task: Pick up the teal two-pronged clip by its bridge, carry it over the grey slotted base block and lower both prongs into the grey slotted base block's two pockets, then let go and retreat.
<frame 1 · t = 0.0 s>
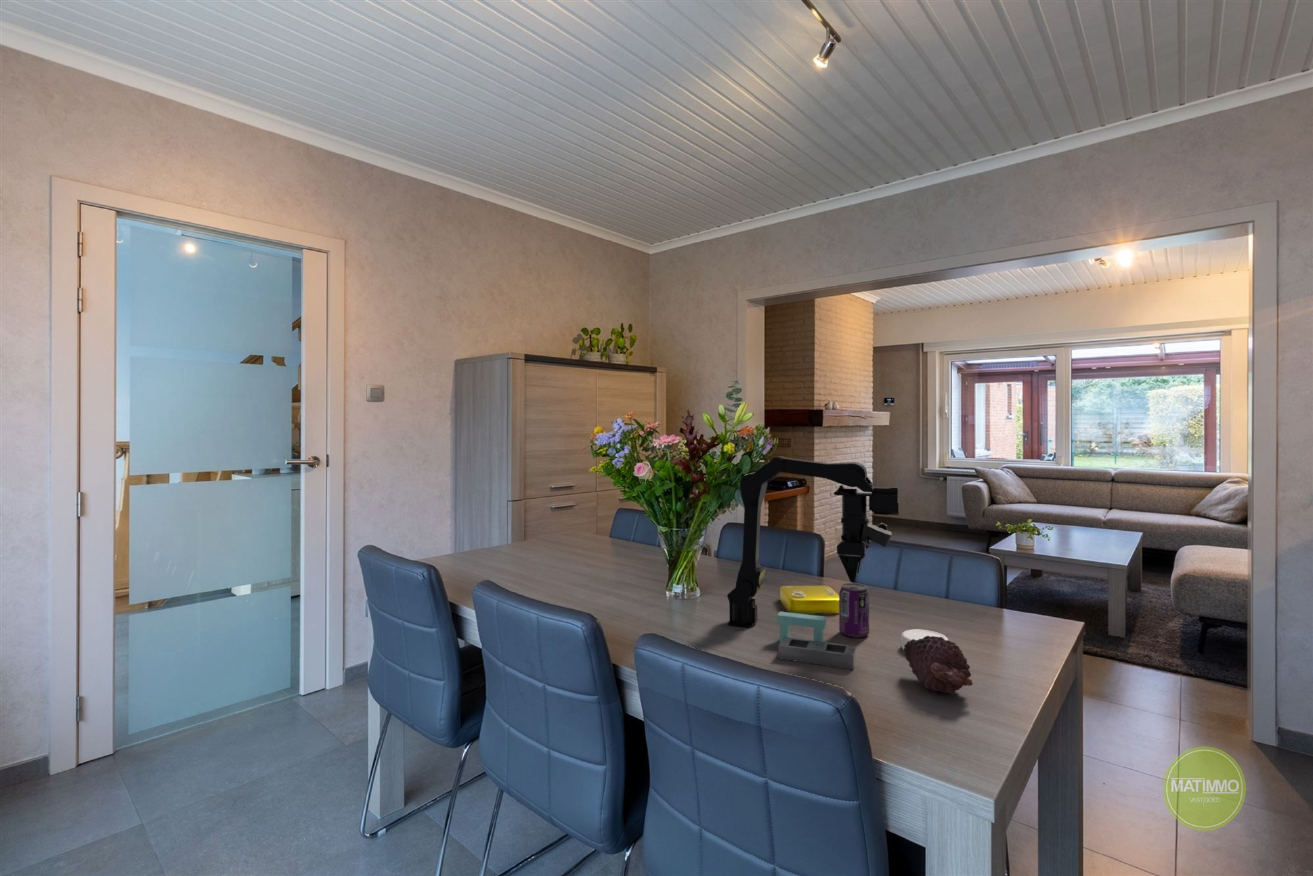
hand: (854, 577, 148), 15 cm above the table, tool pointing down, fingers open, 9 cm apart
grey slotted base block: (817, 659, 134), on the table
element tile: (810, 607, 174), on the table
clip: (801, 642, 144), on the table
pine cone: (936, 688, 119), on the table
beverage can: (854, 634, 150), on the table
coaster: (924, 651, 139), on the table
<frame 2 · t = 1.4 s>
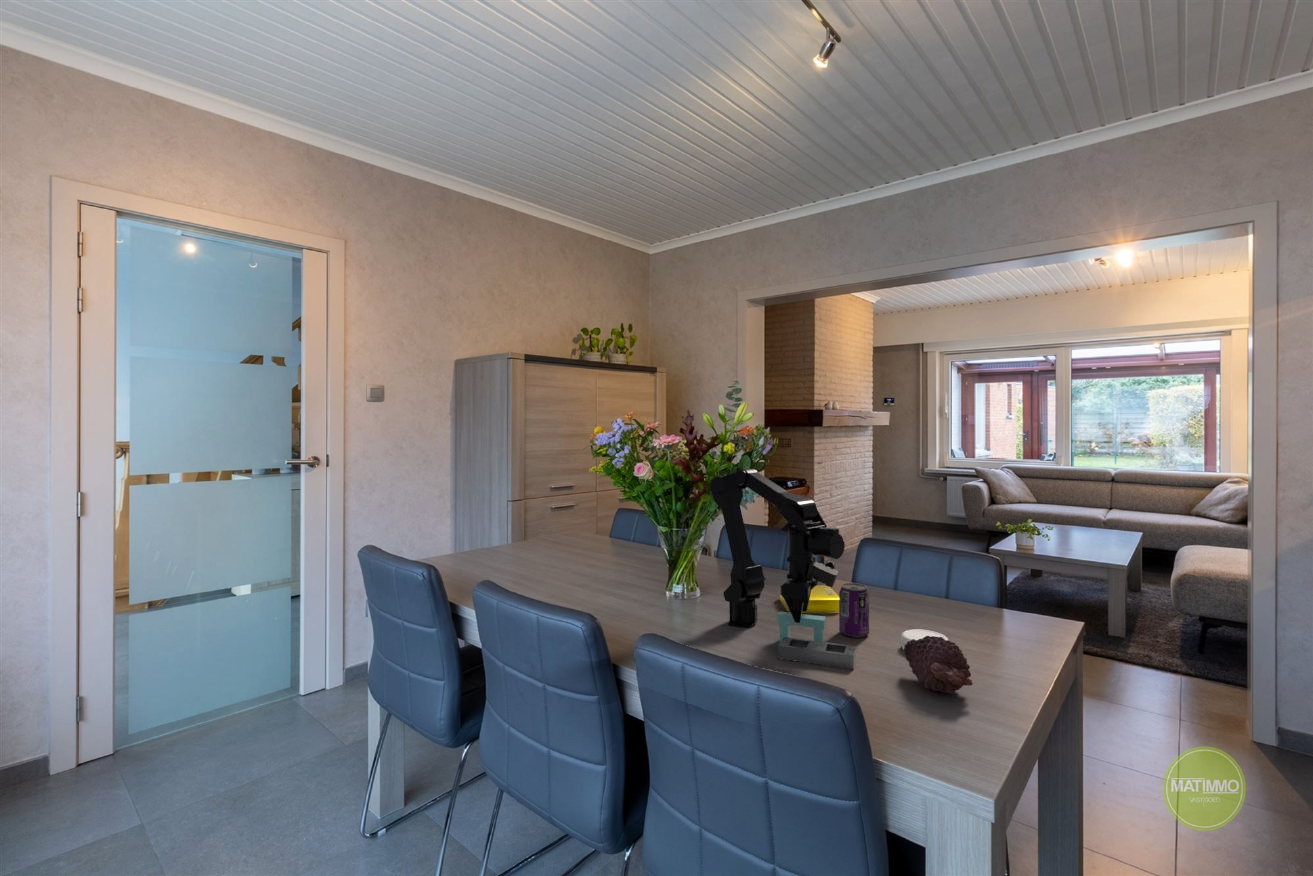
hand: (801, 616, 144), 6 cm above the table, tool pointing down, fingers open, 9 cm apart
nothing on the table moved.
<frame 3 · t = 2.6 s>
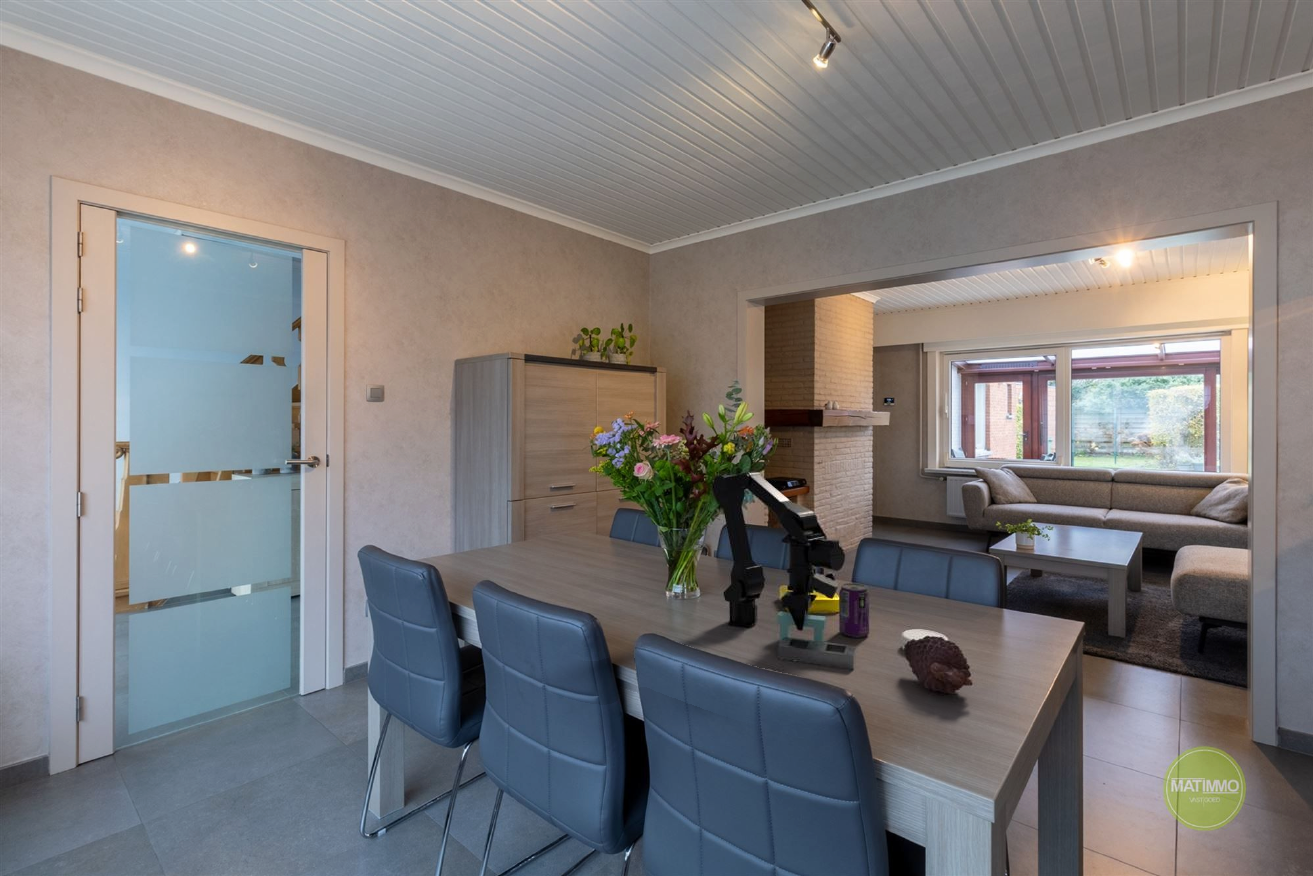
hand: (801, 628, 144), 4 cm above the table, tool pointing down, fingers closed on clip, 3 cm apart
clip: (801, 642, 144), on the table, touching gripper
everything else where it was.
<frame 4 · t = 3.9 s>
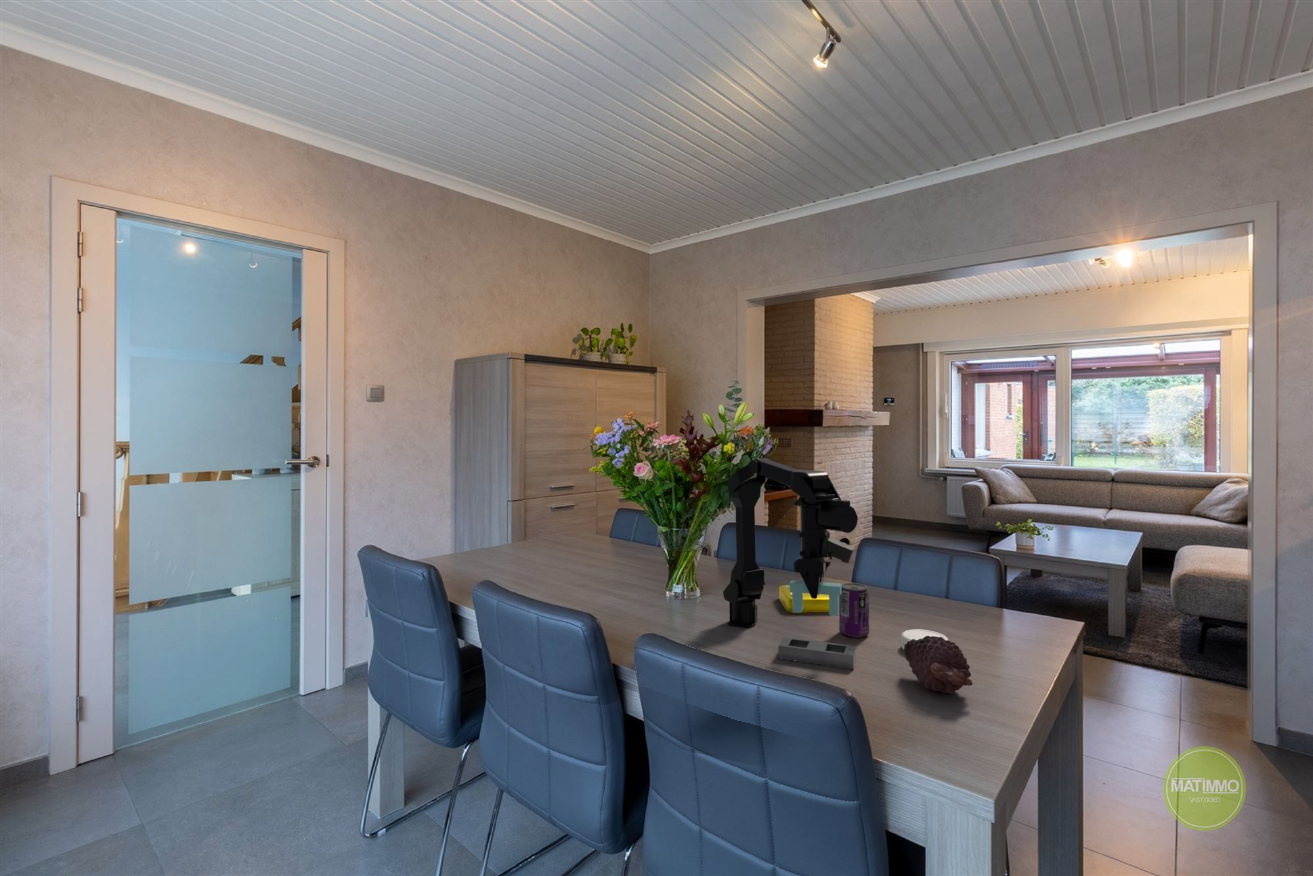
hand: (815, 596, 136), 14 cm above the table, tool pointing down, fingers closed on clip, 3 cm apart
clip: (815, 612, 136), point 10 cm above the table, touching gripper
everything else where it was.
when the fingers open (4 cm above the table, at t = 5.6 s): clip stays where it is, resting in grey slotted base block.
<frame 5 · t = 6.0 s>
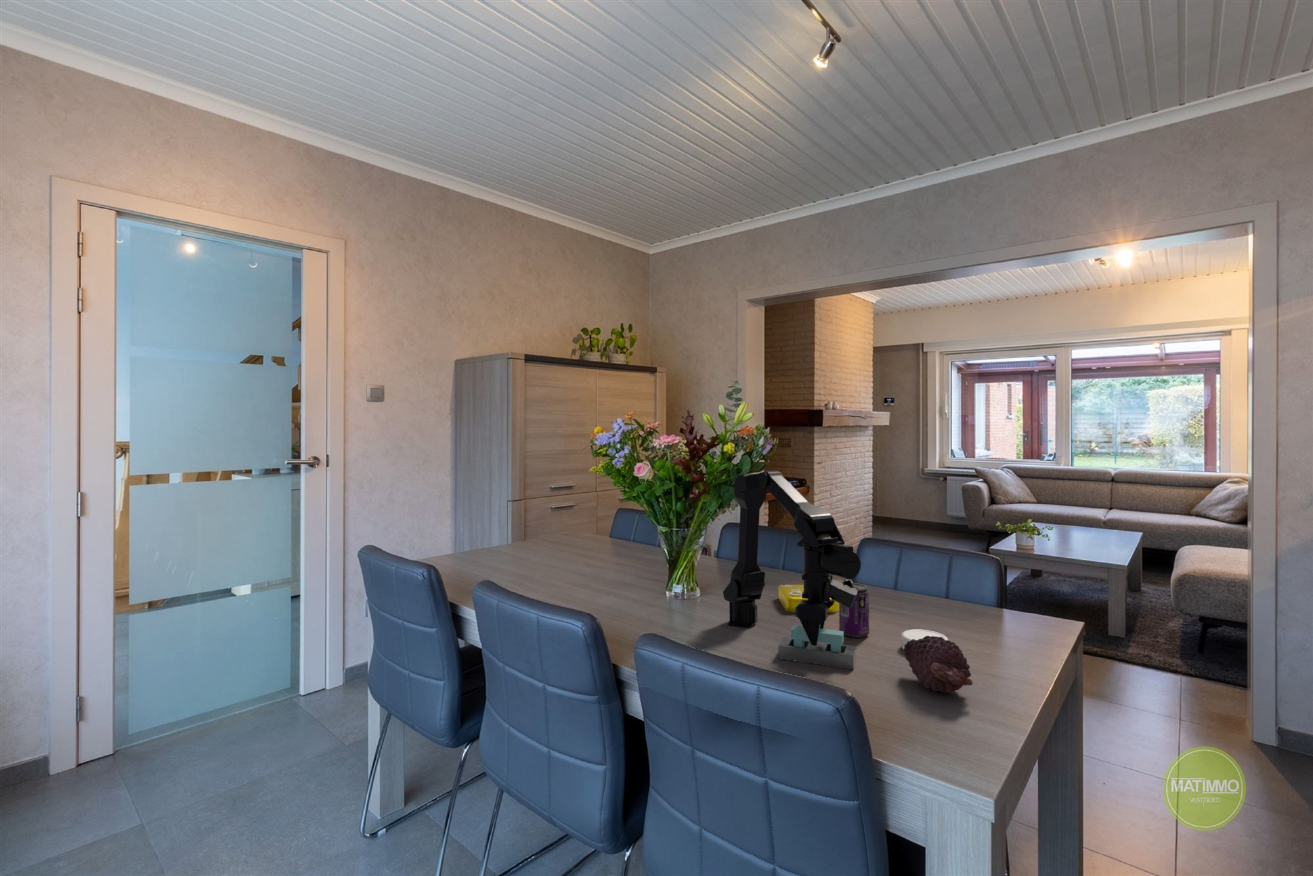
hand: (817, 639, 134), 4 cm above the table, tool pointing down, fingers open, 8 cm apart
clip: (817, 659, 134), resting in grey slotted base block
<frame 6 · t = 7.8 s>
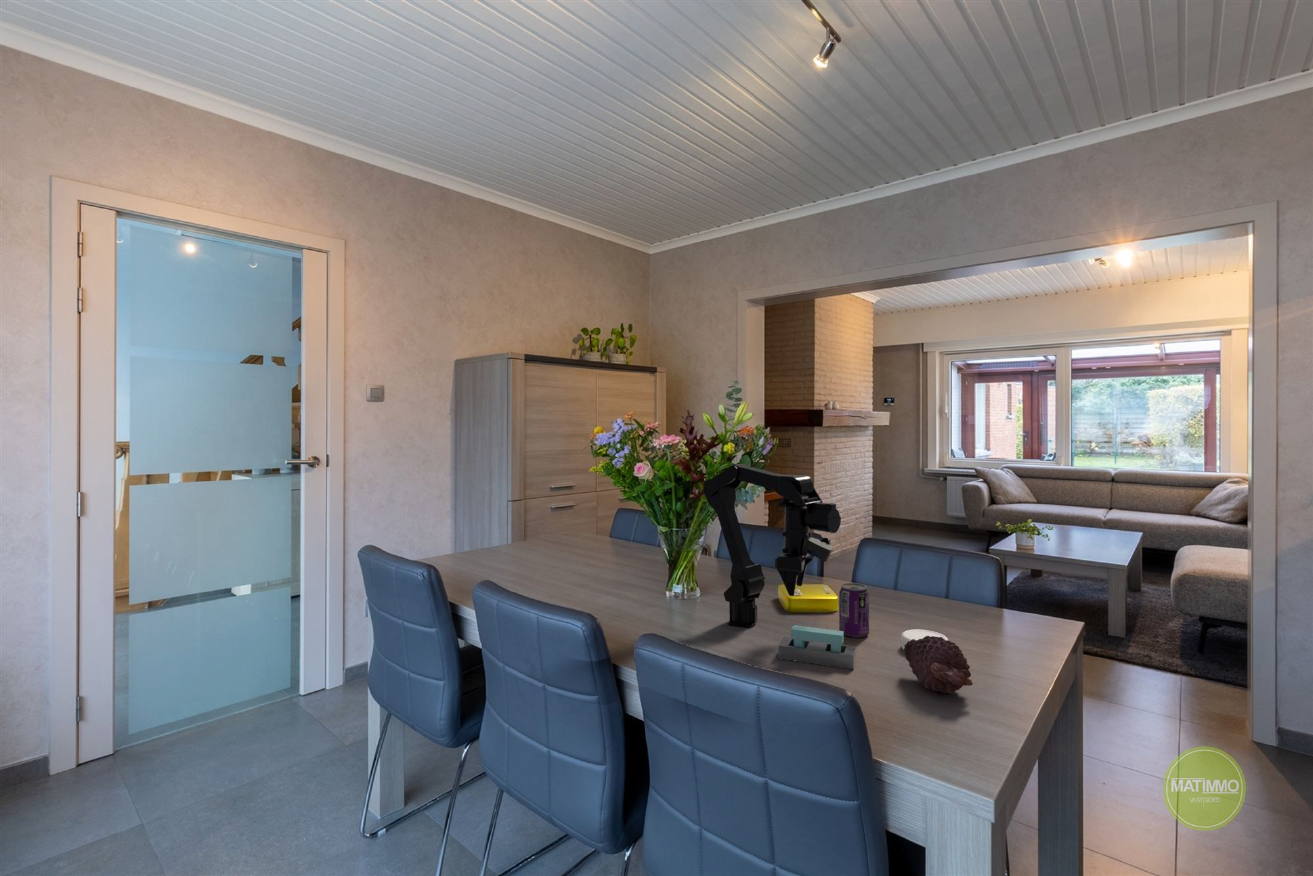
hand: (795, 590, 147), 12 cm above the table, tool pointing down, fingers open, 9 cm apart
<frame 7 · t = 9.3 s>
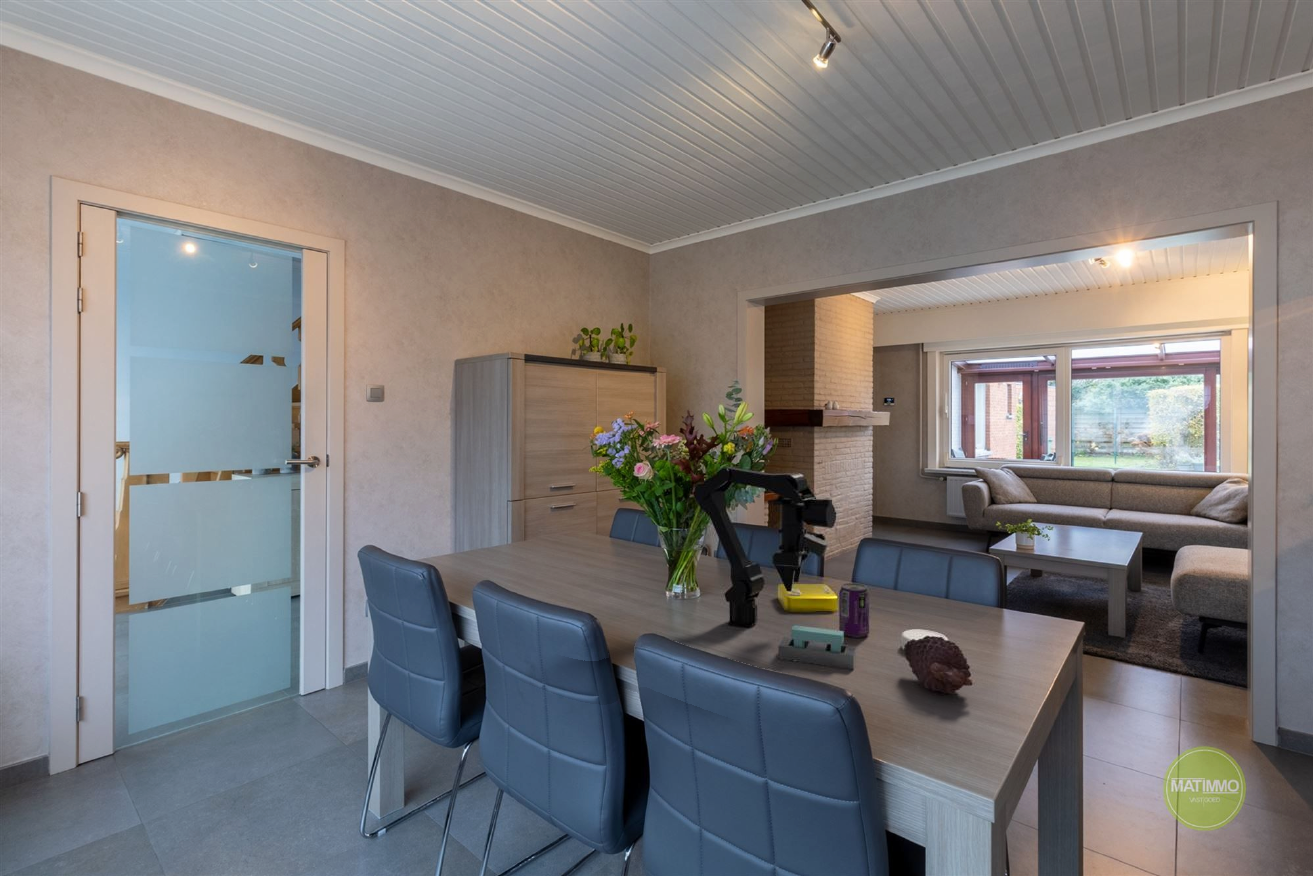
hand: (792, 586, 150), 12 cm above the table, tool pointing down, fingers open, 9 cm apart
at the end: clip 0.0 cm off-centre on the grey slotted base block, point 0.0 cm above the grey slotted base block's base; clip tilted 0°; the gripper is holding nothing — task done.
